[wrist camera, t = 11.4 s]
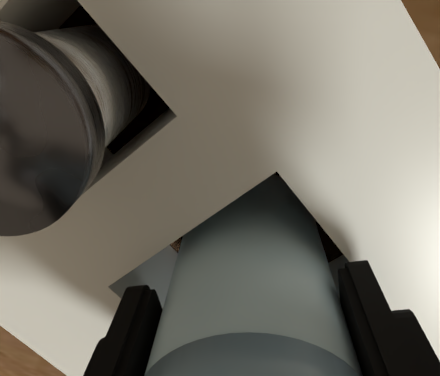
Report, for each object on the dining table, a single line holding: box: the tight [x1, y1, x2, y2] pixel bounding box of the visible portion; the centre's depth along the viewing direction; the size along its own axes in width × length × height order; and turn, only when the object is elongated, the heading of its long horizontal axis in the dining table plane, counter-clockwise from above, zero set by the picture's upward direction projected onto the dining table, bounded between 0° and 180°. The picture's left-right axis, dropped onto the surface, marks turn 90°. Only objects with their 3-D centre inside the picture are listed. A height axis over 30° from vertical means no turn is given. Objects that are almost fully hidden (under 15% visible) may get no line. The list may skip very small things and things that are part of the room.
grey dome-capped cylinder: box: [0, 21, 151, 236], centre depth 9 cm, size 4×4×6 cm
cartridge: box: [144, 174, 363, 376], centre depth 10 cm, size 5×5×10 cm
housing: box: [0, 0, 440, 376], centre depth 13 cm, size 21×14×4 cm, turn 39°
